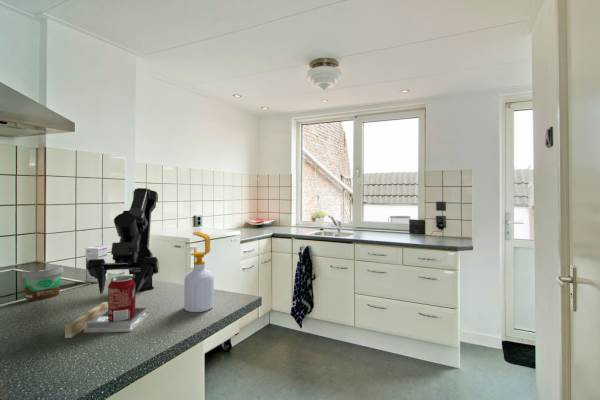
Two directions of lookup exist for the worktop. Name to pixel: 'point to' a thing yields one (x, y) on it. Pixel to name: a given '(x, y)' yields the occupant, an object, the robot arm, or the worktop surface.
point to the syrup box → (95, 253)
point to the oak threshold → (84, 320)
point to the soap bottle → (199, 283)
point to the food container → (42, 283)
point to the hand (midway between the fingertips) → (119, 292)
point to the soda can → (121, 298)
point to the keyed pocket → (115, 322)
